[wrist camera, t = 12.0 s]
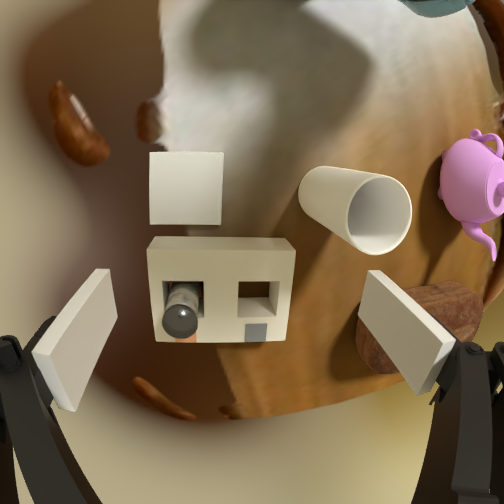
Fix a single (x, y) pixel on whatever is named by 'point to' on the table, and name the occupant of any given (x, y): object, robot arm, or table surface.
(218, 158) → the white flat square plate
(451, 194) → the teapot
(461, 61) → the table surface
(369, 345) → the bread
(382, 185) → the cup
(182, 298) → the plug
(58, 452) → the robot arm
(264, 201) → the table surface
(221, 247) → the socket block
